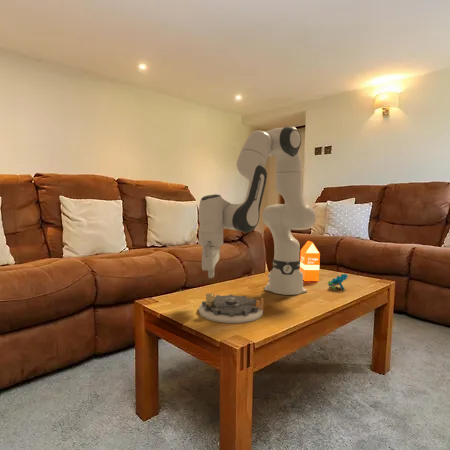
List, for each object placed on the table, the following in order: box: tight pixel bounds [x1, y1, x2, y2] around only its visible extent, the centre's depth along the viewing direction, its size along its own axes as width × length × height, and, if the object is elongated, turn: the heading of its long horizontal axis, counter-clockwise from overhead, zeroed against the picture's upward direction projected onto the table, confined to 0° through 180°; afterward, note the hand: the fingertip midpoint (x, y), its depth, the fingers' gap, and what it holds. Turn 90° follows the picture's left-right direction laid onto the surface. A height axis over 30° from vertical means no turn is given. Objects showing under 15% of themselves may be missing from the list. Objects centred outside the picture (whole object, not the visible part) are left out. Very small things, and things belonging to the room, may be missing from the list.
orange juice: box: [299, 240, 321, 282], centre depth 172 cm, size 8×9×20 cm
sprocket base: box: [198, 297, 265, 324], centre depth 119 cm, size 23×23×6 cm
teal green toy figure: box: [327, 273, 349, 290], centre depth 154 cm, size 11×6×10 cm
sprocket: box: [201, 292, 261, 317], centre depth 119 cm, size 21×21×6 cm
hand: (211, 277), depth 121 cm, fingers closed
